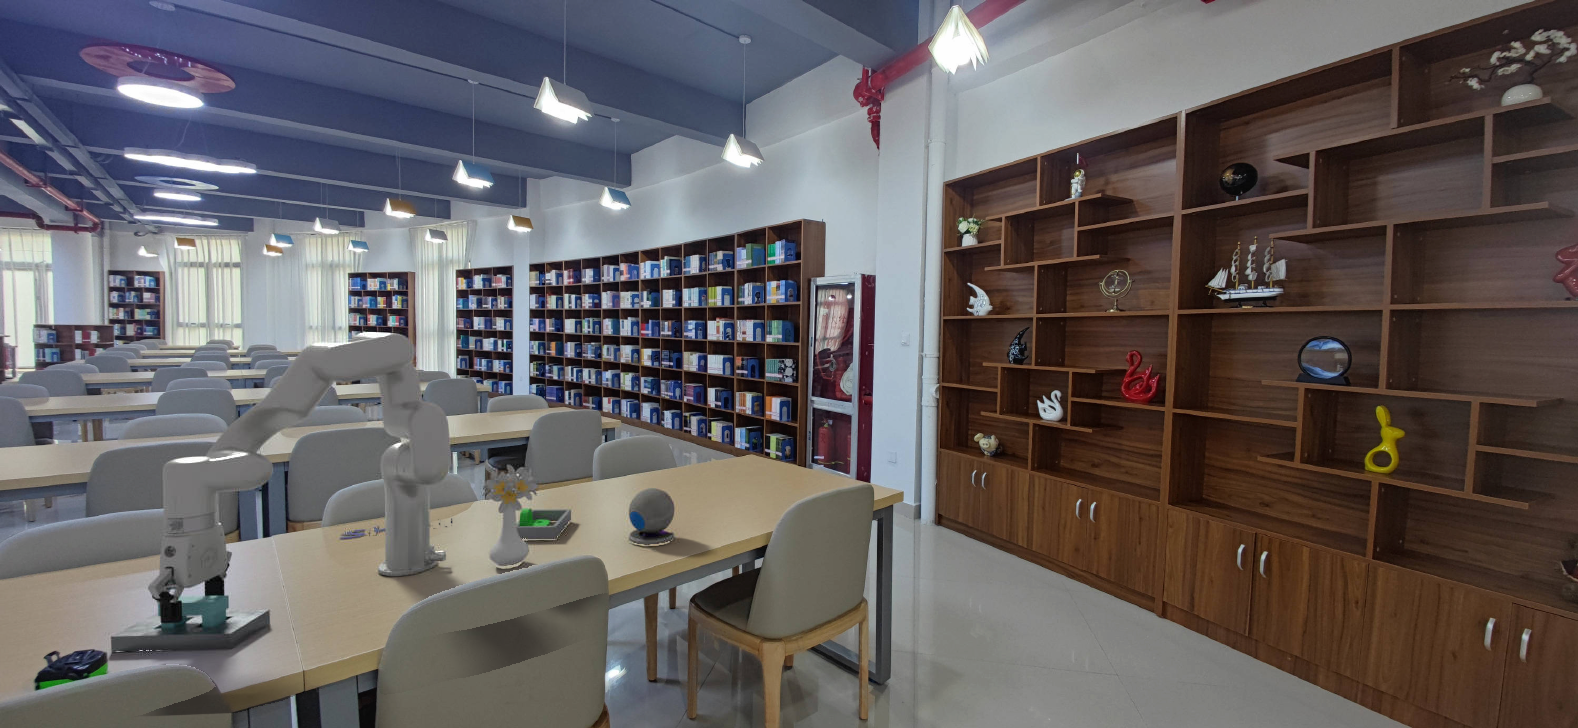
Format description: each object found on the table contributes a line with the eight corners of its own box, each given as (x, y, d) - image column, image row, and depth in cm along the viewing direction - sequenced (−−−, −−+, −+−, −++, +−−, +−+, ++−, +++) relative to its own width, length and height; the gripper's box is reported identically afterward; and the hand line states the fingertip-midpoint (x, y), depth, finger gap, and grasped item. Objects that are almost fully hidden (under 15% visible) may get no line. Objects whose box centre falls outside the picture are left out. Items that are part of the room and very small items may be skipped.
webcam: (682, 538, 183) (683, 488, 182) (651, 550, 172) (652, 497, 172) (650, 530, 190) (651, 481, 189) (618, 541, 179) (619, 489, 178)
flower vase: (489, 583, 147) (489, 479, 146) (478, 559, 163) (478, 464, 162) (546, 572, 155) (546, 473, 154) (530, 550, 170) (531, 460, 169)
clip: (229, 632, 121) (228, 595, 121) (216, 640, 118) (216, 601, 118) (172, 634, 120) (172, 596, 120) (158, 642, 117) (157, 603, 117)
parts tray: (571, 521, 196) (571, 509, 196) (555, 540, 178) (555, 526, 178) (531, 522, 195) (531, 509, 195) (512, 541, 177) (512, 527, 177)
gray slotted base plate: (269, 624, 125) (269, 609, 125) (230, 649, 115) (230, 633, 115) (160, 626, 123) (160, 611, 123) (111, 652, 113) (110, 636, 113)
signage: (338, 539, 175) (342, 529, 183) (338, 541, 175) (342, 531, 183) (452, 525, 189) (451, 516, 198) (452, 527, 189) (451, 518, 198)
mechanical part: (540, 538, 181) (540, 511, 180) (519, 538, 180) (519, 511, 180) (552, 525, 193) (552, 500, 192) (532, 525, 192) (532, 500, 192)
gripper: (173, 537, 110) (175, 631, 111) (248, 509, 127) (249, 591, 128) (126, 537, 109) (129, 632, 110) (208, 509, 126) (209, 592, 127)
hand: (194, 610), depth 119 cm, fingers open, 9 cm apart
